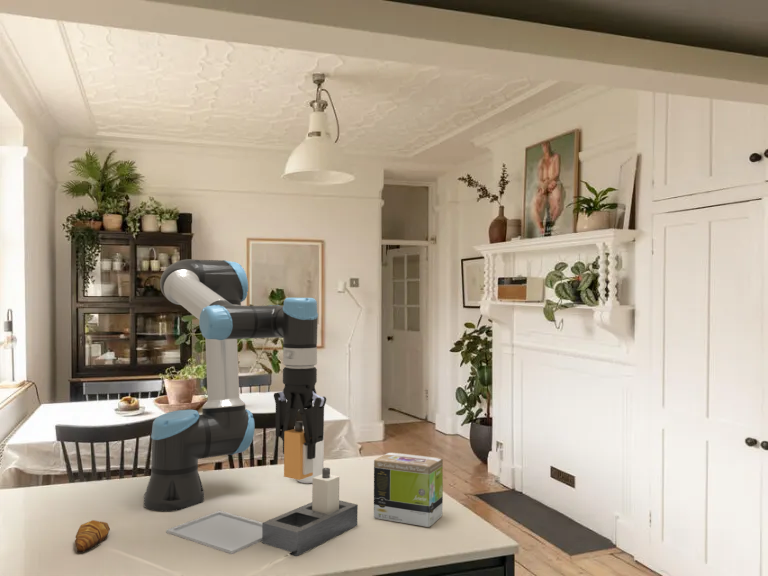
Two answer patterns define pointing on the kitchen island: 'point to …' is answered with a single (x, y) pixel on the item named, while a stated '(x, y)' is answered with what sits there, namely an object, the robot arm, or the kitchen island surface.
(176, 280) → the robot arm
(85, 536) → the croissant
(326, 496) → the white square bottle
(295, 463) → the orange square bottle
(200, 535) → the tray
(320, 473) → the white bottle
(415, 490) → the tea box
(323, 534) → the grey bottle rack
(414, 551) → the kitchen island surface
